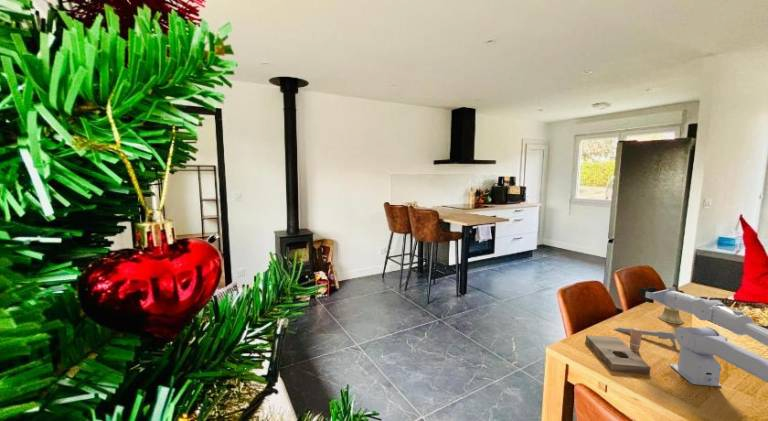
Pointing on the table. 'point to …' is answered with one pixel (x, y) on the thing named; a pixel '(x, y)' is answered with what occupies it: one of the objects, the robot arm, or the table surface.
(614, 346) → the board
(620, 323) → the table surface
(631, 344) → the peg
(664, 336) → the caliper
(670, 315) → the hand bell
